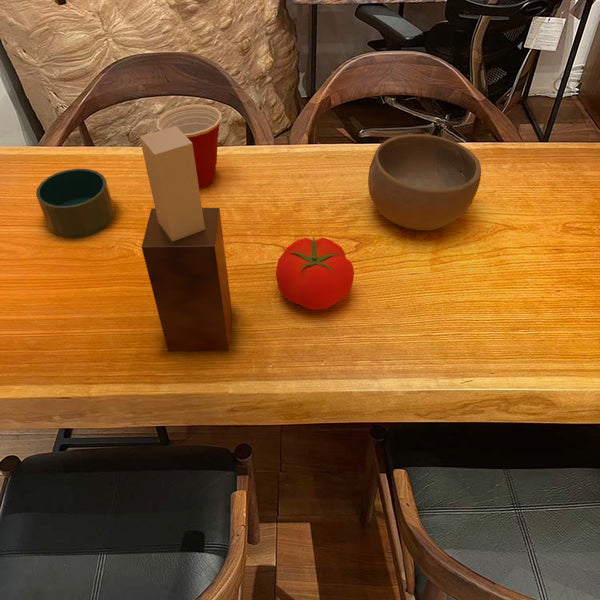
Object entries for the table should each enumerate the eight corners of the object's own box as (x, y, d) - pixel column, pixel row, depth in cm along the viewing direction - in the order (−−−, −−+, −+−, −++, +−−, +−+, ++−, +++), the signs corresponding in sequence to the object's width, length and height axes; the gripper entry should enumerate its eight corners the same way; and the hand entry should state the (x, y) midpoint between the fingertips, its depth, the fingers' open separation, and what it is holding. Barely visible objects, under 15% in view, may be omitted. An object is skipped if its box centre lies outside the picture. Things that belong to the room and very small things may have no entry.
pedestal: (167, 351, 77) (141, 247, 64) (174, 312, 82) (151, 208, 69) (228, 350, 77) (214, 246, 64) (232, 311, 82) (219, 207, 69)
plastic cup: (190, 156, 109) (181, 95, 101) (239, 172, 106) (234, 110, 97) (154, 186, 103) (141, 123, 94) (205, 203, 99) (196, 140, 90)
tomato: (276, 268, 88) (275, 229, 83) (349, 267, 88) (352, 228, 83) (275, 320, 80) (274, 281, 75) (355, 319, 81) (359, 280, 75)
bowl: (467, 185, 103) (479, 134, 96) (472, 251, 91) (487, 198, 83) (368, 177, 105) (374, 126, 98) (361, 240, 92) (366, 187, 85)
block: (172, 242, 64) (154, 154, 56) (158, 222, 67) (139, 136, 59) (205, 229, 66) (192, 142, 58) (190, 211, 68) (176, 125, 60)
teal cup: (58, 246, 91) (46, 215, 87) (40, 211, 98) (28, 181, 93) (123, 224, 95) (115, 193, 91) (102, 191, 102) (93, 161, 97)
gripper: (21, -240, 46) (78, -15, 57) (-190, -232, 40) (-81, 14, 52) (48, -233, 41) (103, 9, 53) (-185, -223, 36) (-67, 44, 48)
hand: (12, 12), depth 52 cm, fingers open, 8 cm apart
